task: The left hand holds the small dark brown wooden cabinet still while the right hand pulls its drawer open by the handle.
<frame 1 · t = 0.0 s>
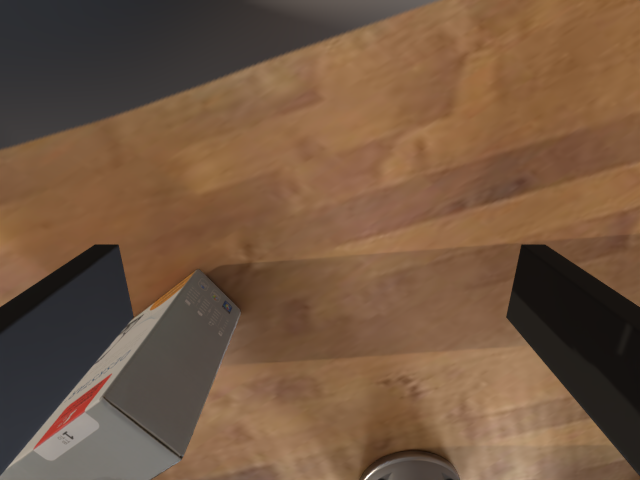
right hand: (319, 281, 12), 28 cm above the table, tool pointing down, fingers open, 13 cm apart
hard drive box: (176, 322, 46), on the table
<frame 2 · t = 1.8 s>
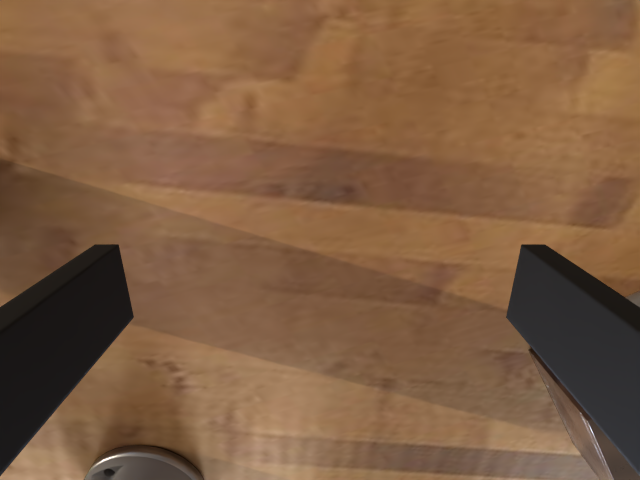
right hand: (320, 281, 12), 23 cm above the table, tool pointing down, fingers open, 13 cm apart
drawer: (618, 380, 37), point 5 cm above the table, slide at 0.6 cm
cabinet: (598, 380, 43), on the table
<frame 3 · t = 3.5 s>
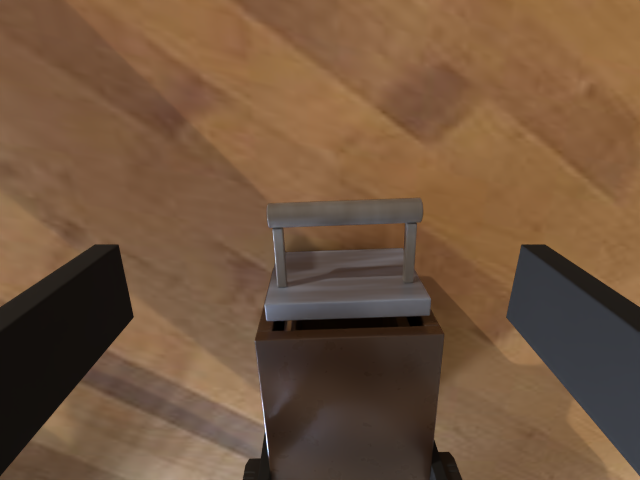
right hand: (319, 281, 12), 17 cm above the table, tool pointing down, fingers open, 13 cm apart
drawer: (344, 333, 27), point 5 cm above the table, slide at 0.6 cm
cabinet: (341, 349, 34), on the table, touching left hand
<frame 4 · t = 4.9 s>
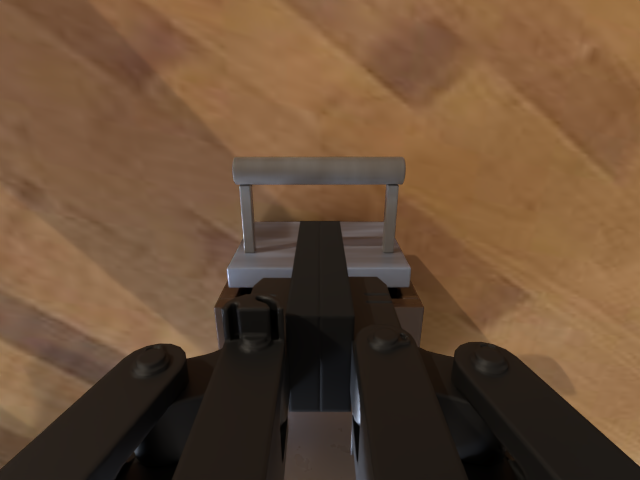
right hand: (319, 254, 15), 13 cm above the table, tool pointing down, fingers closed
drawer: (319, 309, 25), point 5 cm above the table, slide at 0.6 cm
cabinet: (319, 331, 31), on the table, touching left hand
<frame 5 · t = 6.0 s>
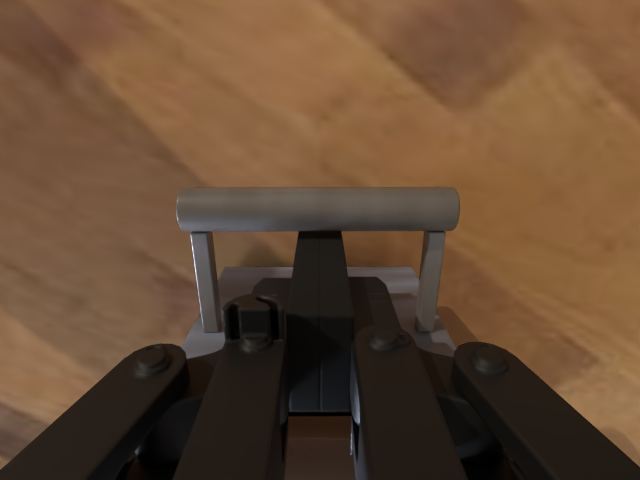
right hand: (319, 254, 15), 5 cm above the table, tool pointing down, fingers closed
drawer: (318, 397, 17), point 5 cm above the table, slide at 0.7 cm, touching right hand
cabinet: (318, 404, 24), on the table, touching left hand
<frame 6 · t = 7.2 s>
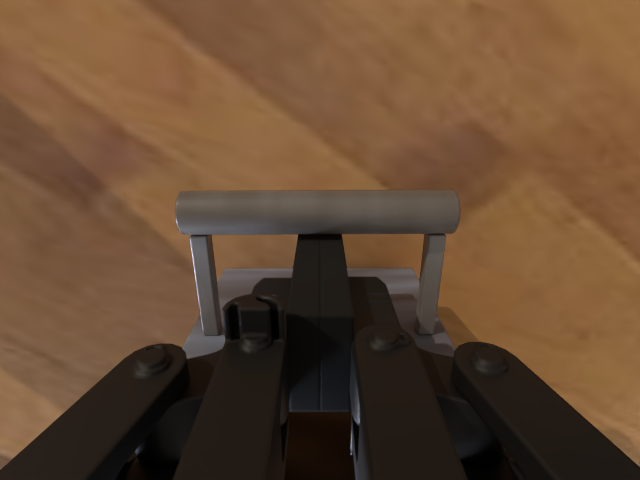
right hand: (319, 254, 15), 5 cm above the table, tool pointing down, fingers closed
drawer: (319, 399, 17), point 5 cm above the table, slide at 6.4 cm, touching right hand
when the left hand's fingers open (5 cm above the table, at t = 9.0 s): cabinet stays where it is, on the table.
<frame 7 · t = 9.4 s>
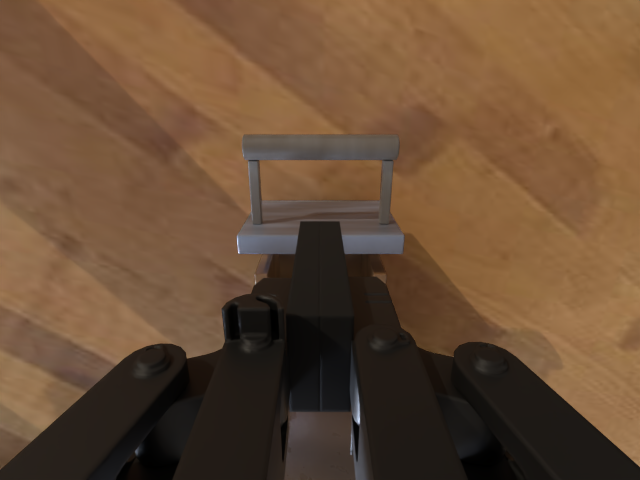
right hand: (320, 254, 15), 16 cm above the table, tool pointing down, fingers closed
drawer: (320, 280, 27), point 5 cm above the table, slide at 6.4 cm
cabinet: (320, 359, 35), on the table
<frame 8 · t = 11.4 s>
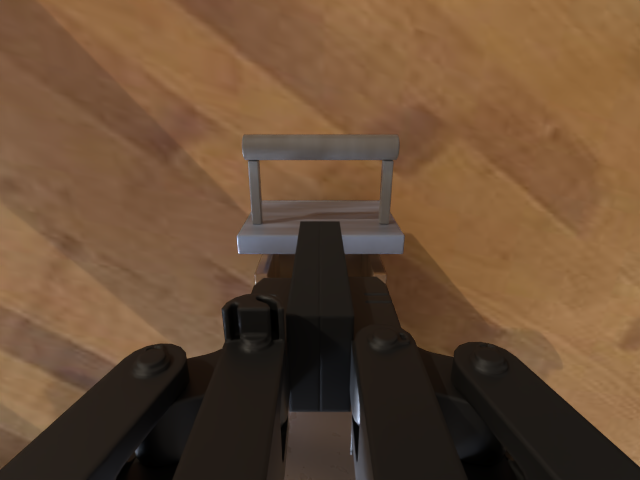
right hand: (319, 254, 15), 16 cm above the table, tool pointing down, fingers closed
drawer: (320, 280, 27), point 5 cm above the table, slide at 6.4 cm
cabinet: (320, 359, 35), on the table
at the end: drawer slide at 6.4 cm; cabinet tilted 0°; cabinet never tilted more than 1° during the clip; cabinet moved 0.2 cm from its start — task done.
